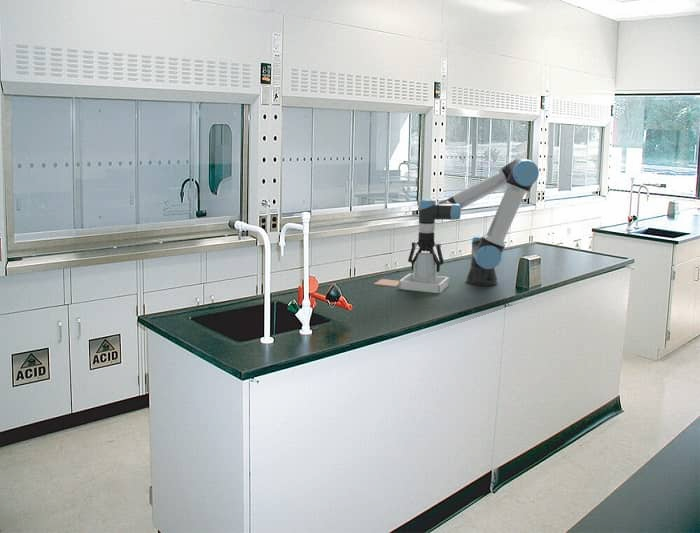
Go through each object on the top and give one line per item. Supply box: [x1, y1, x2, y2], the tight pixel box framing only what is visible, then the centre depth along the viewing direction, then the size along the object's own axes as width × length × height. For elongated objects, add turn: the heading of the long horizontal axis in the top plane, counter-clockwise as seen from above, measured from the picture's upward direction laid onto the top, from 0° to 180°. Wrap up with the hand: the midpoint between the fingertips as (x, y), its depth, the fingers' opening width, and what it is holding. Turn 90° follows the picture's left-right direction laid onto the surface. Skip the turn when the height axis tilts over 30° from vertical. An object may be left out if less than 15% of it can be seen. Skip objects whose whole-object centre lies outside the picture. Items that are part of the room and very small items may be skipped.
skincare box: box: [415, 251, 436, 284], centre depth 334 cm, size 8×6×15 cm
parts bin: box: [398, 272, 450, 294], centre depth 335 cm, size 20×18×4 cm
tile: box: [373, 278, 399, 288], centre depth 341 cm, size 11×11×1 cm
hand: (425, 277), depth 335 cm, fingers closed on skincare box, 10 cm apart
